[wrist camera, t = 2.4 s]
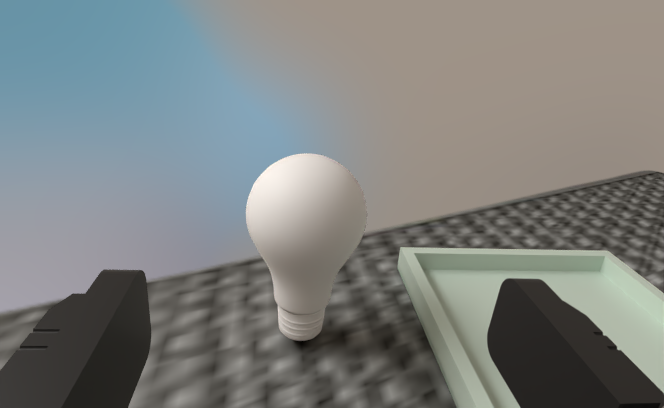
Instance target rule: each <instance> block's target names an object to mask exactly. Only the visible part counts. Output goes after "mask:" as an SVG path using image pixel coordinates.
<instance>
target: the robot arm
mask: <svg viewBox="0 0 664 408" xmlns="http://www.w3.org/2000/svg"><path fill="white" fill-rule="evenodd" d="M150 343H151V324H150V314H149V303H148V293H147V283H146V277H145V273H144V272H143V271H142V270H103V271H102V272H101V273H100V274H99V275H98V277H97V278H96V280H95V281H94V282H93V284H92V285H91V287H90V288H89V289H88V291H87V292H86V294H72V295H70V296H69V297H67V298H66V299H64V300H63V301H61V302H60V303H58V304H57V305H55V306H54V307H52V308H51V309H49V310H48V311H47V313H46V314H45V315H44V316H43V318H42V319H41V320H40V321H39V323H38V324H37V325H36V327H35V328H34V329H33V333H30V334H29V335H28V337H27V338H26V339H25V340H24V342H23V343H22V344H21V345H20V350H16V352H15V353H14V354H13V356H12V357H11V358H10V359H9V361H8V362H7V363H6V364H5V366H4V367H3V368H2V369H1V371H0V408H128V406H129V403H130V401H131V398H132V396H133V393H134V391H135V388H136V386H137V383H138V381H139V378H140V376H141V373H142V371H143V368H144V366H145V363H146V360H147V357H148V354H149V349H150ZM487 345H488V351H489V354H490V357H491V359H492V361H493V362H494V364H495V366H496V367H497V369H498V371H499V372H500V374H501V376H502V377H503V379H504V381H505V382H506V384H507V386H508V388H509V389H510V391H511V393H512V394H513V396H514V398H515V399H516V401H517V403H518V404H519V406H520V408H664V393H663V392H662V391H661V390H660V389H659V388H658V387H657V386H656V385H655V384H654V383H653V382H652V381H651V380H650V379H649V378H648V377H647V376H646V375H645V374H644V373H643V372H642V371H641V370H640V369H639V368H638V367H637V366H636V365H635V364H634V363H633V362H632V361H631V360H630V359H629V358H628V357H627V356H626V355H625V354H624V353H623V352H622V351H621V350H618V349H617V346H616V345H615V344H614V343H613V342H612V341H611V340H610V339H609V338H608V337H607V336H606V335H603V332H602V331H601V330H600V329H599V328H598V327H597V326H596V325H595V324H594V323H593V322H592V321H591V320H590V318H589V317H588V316H587V315H585V314H584V313H582V312H580V311H579V310H577V309H576V308H574V307H573V306H571V305H569V304H568V303H566V302H565V301H562V299H561V298H560V297H559V296H558V295H557V294H556V293H555V292H554V291H553V290H552V289H551V288H550V287H549V286H548V285H547V284H546V283H545V282H544V281H543V280H541V279H523V278H507V279H505V280H504V281H503V282H502V284H501V287H500V290H499V293H498V297H497V300H496V304H495V307H494V311H493V314H492V318H491V321H490V325H489V328H488V333H487Z"/></svg>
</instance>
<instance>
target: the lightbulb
mask: <svg viewBox="0 0 664 408" xmlns="http://www.w3.org/2000/svg"><path fill="white" fill-rule="evenodd" d="M246 221H247V227H248V230H249V234H250V237H251V238H252V240H253V242H254V244H255V246H256V247H257V249H258V251H259V253H260V255H261V256H262V258H263V259H264V261H265V262H266V264H267V265H268V268H269V270H270V273H271V275H272V280H273V285H274V297H275V301H276V303H277V304H278V316H279V319H278V321H279V328H280V331H281V332H282V333H283V334H284V335H285V336H286V337H288V338H290V339H292V340H296V341H306V340H310V339H312V338H314V337H315V336H317V335H318V334H319V333H320V331H321V329H322V325H323V320H324V314H325V307H326V306H327V304H328V303H329V300H330V297H331V291H332V286H333V283H334V280H335V277H336V276H337V274H338V272H339V270H340V268H341V267H342V266H343V265H344V263H345V262H346V261H347V260H348V258H349V257H350V256H351V254H352V253H353V251H354V250H355V249H356V247H357V246H358V244H359V243H360V241H361V239H362V236H363V233H364V231H365V227H366V221H367V207H366V201H365V198H364V194H363V191H362V189H361V187H360V185H359V184H358V182H357V180H356V179H355V178H354V176H353V175H352V174H351V173H350V171H349V170H347V169H346V168H345V167H344V166H342V165H341V164H340V163H338V162H336V161H334V160H332V159H330V158H328V157H325V156H322V155H317V154H296V155H292V156H289V157H286V158H283V159H281V160H279V161H277V162H275V163H274V164H272V165H270V166H269V167H268V168H267V169H266V170H265V171H264V172H263V173H262V174H261V175H260V176H259V178H258V179H257V180H256V182H255V183H254V185H253V187H252V190H251V192H250V195H249V197H248V201H247V206H246Z"/></svg>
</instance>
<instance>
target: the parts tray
mask: <svg viewBox="0 0 664 408" xmlns="http://www.w3.org/2000/svg"><path fill="white" fill-rule="evenodd" d="M397 269H398V271H399V273H400V276H401V278H402V280H403V283H404V285H405V287H406V290H407V292H408V294H409V297H410V299H411V301H412V304H413V306H414V309H415V311H416V313H417V316H418V318H419V320H420V323H421V325H422V327H423V330H424V332H425V334H426V337H427V339H428V341H429V344H430V346H431V348H432V351H433V353H434V356H435V358H436V360H437V363H438V365H439V367H440V370H441V372H442V374H443V377H444V379H445V381H446V384H447V386H448V388H449V391H450V393H451V396H452V398H453V400H454V403H455V405H456V407H457V408H520V406H519V404H518V403H517V401H516V399H515V398H514V396H513V394H512V393H511V391H510V389H509V388H508V386H507V384H506V382H505V381H504V379H503V377H502V376H501V374H500V372H499V371H498V369H497V367H496V366H495V364H494V362H493V361H492V359H491V357H490V354H489V351H488V345H487V333H488V328H489V325H490V321H491V318H492V314H493V311H494V307H495V304H496V300H497V297H498V293H499V290H500V287H501V284H502V282H503V281H504V280H505V279H507V278H523V279H541V280H543V281H544V282H545V283H546V284H547V285H548V286H549V287H550V288H551V289H552V290H553V291H554V292H555V293H556V294H557V295H558V296H559V297H560V298H561V299H562V301H565V302H566V303H568V304H569V305H571V306H573V307H574V308H576V309H577V310H579V311H580V312H582V313H584V314H585V315H587V316H588V317H589V318H590V320H591V321H592V322H593V323H594V324H595V325H596V326H597V327H598V328H599V329H600V330H601V331H602V332H603V335H606V336H607V337H608V338H609V339H610V340H611V341H612V342H613V343H614V344H615V345H616V346H617V349H618V350H621V351H622V352H623V353H624V354H625V355H626V356H627V357H628V358H629V359H630V360H631V361H632V362H633V363H634V364H635V365H636V366H637V367H638V368H639V369H640V370H641V371H642V372H643V373H644V374H645V375H646V376H647V377H648V378H649V379H650V380H651V381H652V382H653V383H654V384H655V385H656V386H657V387H658V388H659V389H660V390H661V391H662V392H663V393H664V293H662V292H661V291H660V290H659V289H657V288H656V287H655V286H653V285H652V284H651V283H649V282H648V281H647V280H645V279H644V278H643V277H641V276H640V275H639V274H637V273H636V272H635V271H634V270H632V269H631V268H630V267H628V266H627V265H626V264H624V263H623V262H622V261H620V260H619V259H618V258H616V257H615V256H614V255H612V254H611V253H610V252H609V251H585V250H526V249H466V248H406V247H401V248H400V254H399V260H398V266H397Z"/></svg>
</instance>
